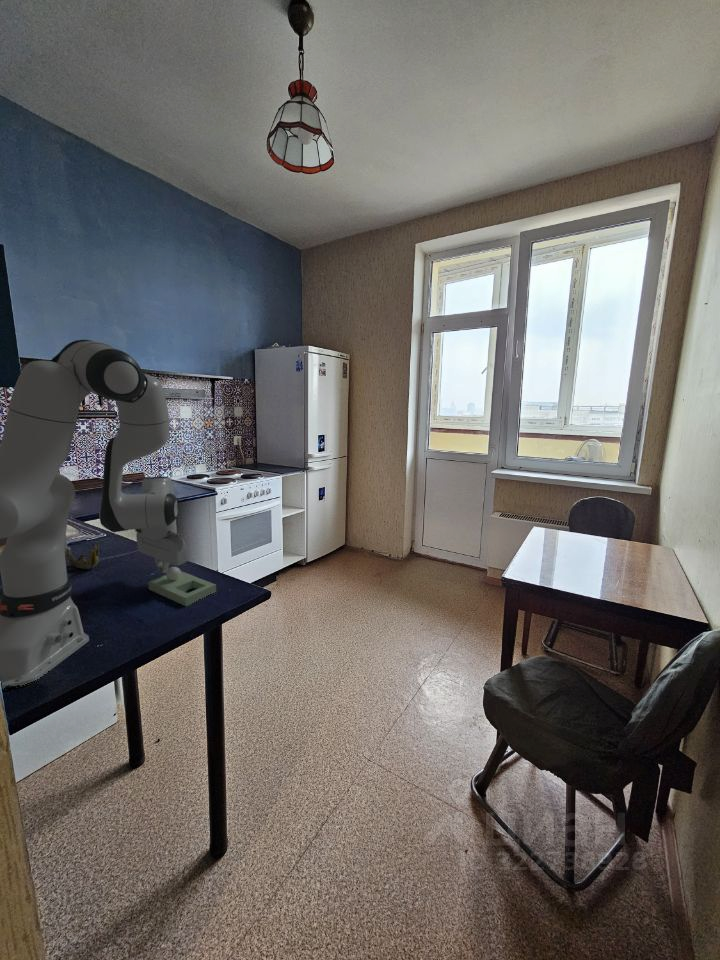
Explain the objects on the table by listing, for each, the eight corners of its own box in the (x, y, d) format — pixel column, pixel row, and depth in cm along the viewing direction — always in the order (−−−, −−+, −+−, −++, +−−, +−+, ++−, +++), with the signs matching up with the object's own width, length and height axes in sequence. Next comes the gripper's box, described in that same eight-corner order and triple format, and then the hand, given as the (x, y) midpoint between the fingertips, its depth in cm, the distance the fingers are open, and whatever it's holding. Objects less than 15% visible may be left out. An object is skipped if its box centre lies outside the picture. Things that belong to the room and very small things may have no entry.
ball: (178, 582, 115) (177, 569, 115) (164, 582, 115) (163, 570, 114) (182, 576, 119) (182, 564, 119) (169, 576, 119) (168, 564, 118)
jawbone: (78, 564, 120) (71, 534, 122) (69, 578, 129) (63, 550, 132) (112, 557, 127) (105, 529, 130) (101, 571, 136) (95, 545, 139)
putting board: (216, 592, 115) (215, 584, 115) (186, 606, 107) (185, 598, 106) (179, 577, 124) (178, 570, 124) (148, 589, 116) (148, 581, 116)
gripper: (191, 532, 114) (193, 576, 117) (151, 520, 125) (154, 561, 127) (171, 538, 109) (174, 583, 112) (131, 525, 119) (134, 567, 122)
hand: (163, 571), depth 119 cm, fingers closed
